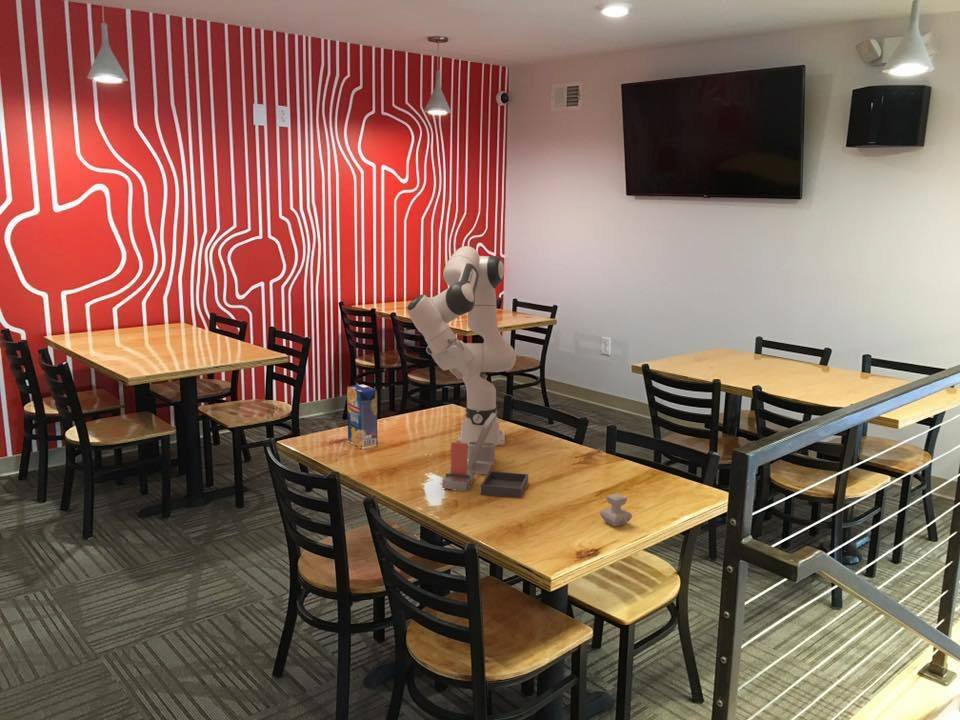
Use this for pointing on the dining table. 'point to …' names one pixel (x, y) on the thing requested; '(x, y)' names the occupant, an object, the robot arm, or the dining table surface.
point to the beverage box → (362, 415)
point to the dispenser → (458, 480)
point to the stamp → (616, 511)
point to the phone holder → (482, 450)
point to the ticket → (459, 458)
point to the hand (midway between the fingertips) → (467, 376)
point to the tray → (504, 484)
